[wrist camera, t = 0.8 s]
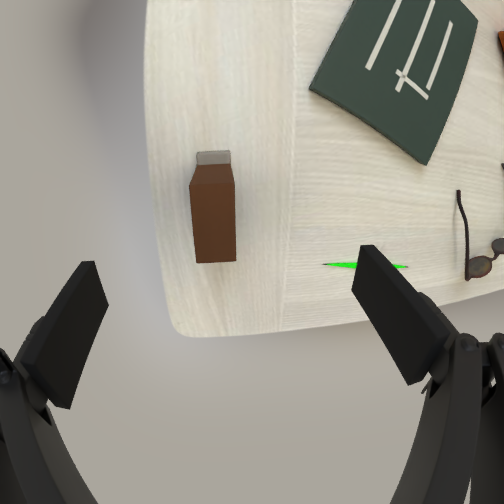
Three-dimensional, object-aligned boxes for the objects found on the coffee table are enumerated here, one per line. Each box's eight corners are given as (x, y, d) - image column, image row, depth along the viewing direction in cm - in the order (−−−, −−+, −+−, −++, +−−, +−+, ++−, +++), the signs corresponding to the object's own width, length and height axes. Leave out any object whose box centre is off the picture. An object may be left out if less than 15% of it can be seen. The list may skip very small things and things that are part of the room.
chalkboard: (384, -56, 12) (389, -59, 11) (472, 21, 17) (478, 20, 16) (308, 88, 23) (312, 88, 22) (420, 163, 27) (426, 166, 26)
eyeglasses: (456, 271, 36) (473, 288, 32) (452, 192, 29) (476, 205, 25) (504, 233, 34) (522, 246, 30) (504, 159, 27) (526, 169, 23)
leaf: (406, 268, 35) (409, 271, 34) (318, 265, 33) (320, 269, 32) (409, 262, 34) (412, 265, 34) (320, 259, 32) (322, 262, 31)
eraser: (197, 151, 25) (188, 170, 17) (229, 150, 25) (234, 168, 17) (202, 229, 28) (197, 274, 21) (231, 227, 29) (236, 272, 21)
